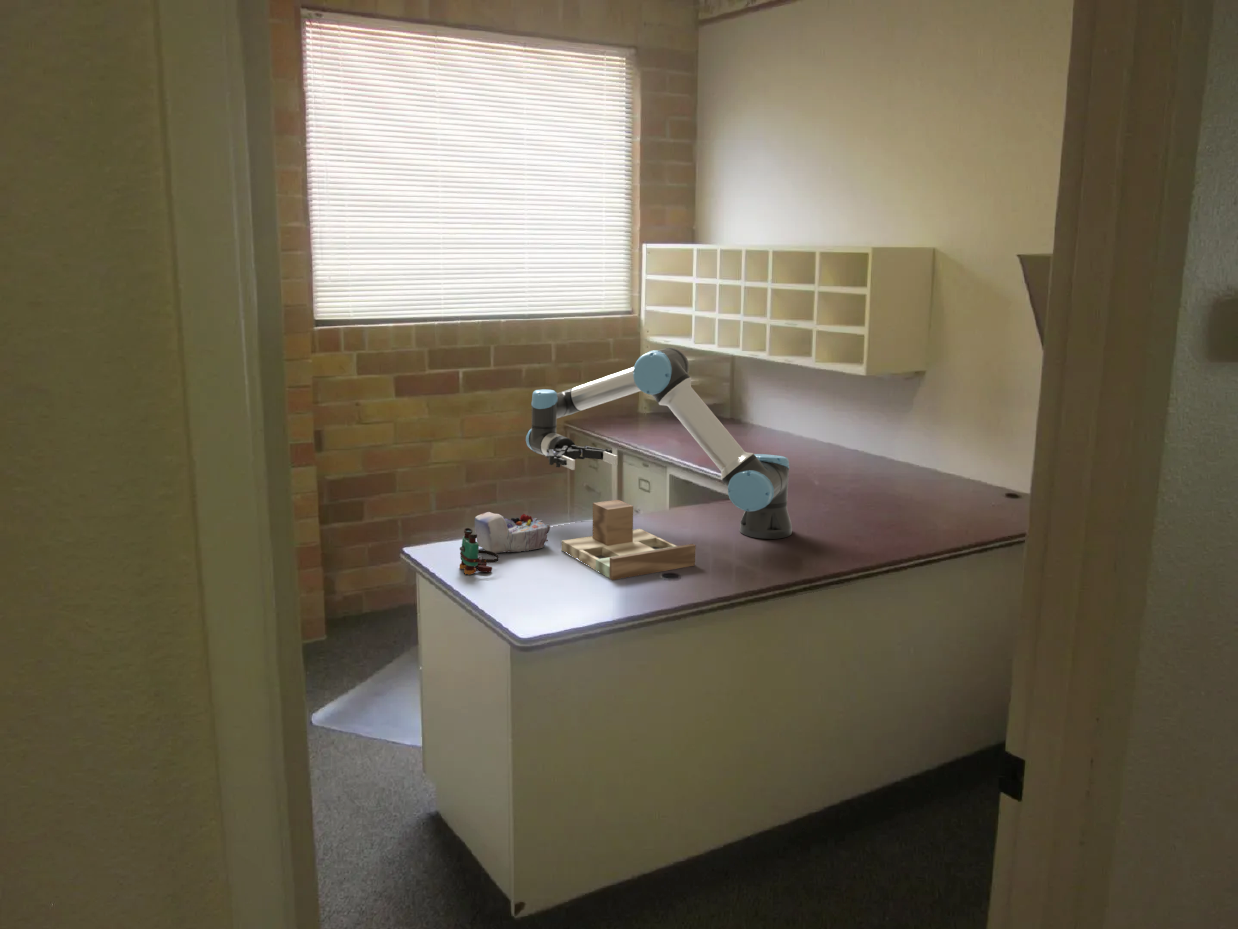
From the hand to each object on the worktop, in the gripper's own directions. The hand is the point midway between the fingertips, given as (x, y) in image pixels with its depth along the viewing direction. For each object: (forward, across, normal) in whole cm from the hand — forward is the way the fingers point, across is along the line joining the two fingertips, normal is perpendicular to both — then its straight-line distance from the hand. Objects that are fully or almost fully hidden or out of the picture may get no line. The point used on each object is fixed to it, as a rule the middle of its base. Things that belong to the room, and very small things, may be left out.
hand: (595, 462), depth 277 cm
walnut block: (+10, 0, -20) cm, 22 cm away
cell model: (-5, +22, -23) cm, 33 cm away
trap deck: (+18, 0, -22) cm, 29 cm away
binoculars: (+8, +38, -23) cm, 45 cm away
